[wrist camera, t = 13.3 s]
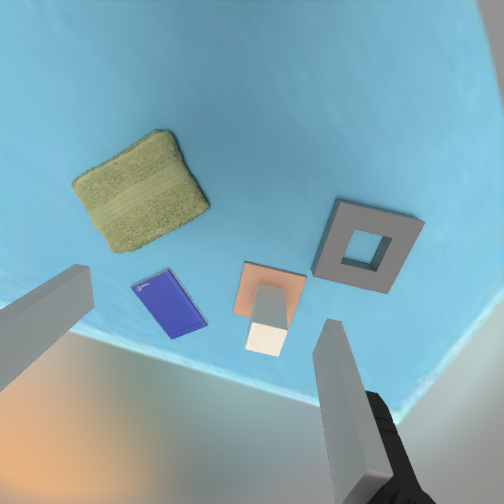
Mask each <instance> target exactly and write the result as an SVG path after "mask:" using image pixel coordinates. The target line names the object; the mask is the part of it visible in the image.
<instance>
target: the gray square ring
mask: <svg viewBox="0 0 504 504" xmlns="http://www.w3.org/2000/svg"><path fill="white" fill-rule="evenodd" d="M424 224H425V222H424V221H422V220H420V219H418V218H416V217H412V216H408V215H403V214H399V213H395V212H391V211H387V210H383V209H378V208H374V207H370V206H366V205H362V204H358V203H353V202H349V201H345V200H341V199H337V198H336V201H335V203H334V206H333V209H332V212H331V215H330V217H329V220H328V223H327V226H326V228H325V231H324V234H323V237H322V240H321V242H320V245H319V248H318V251H317V254H316V256H315V259H314V262H313V265H312V268H311V271H312V274H313V277H317V278H321V279H325V280H330V281H334V282H338V283H342V284H346V285H351V286H355V287H359V288H363V289H367V290H372V291H376V292H380V293H384V294H388V293H389V291H390V289H391V287H392V285H393V283H394V281H395V279H396V277H397V275H398V274H399V272H400V270H401V268H402V266H403V264H404V262H405V260H406V258H407V256H408V255H409V253H410V251H411V249H412V247H413V245H414V243H415V241H416V239H417V237H418V236H419V234H420V232H421V230H422V228H423V226H424ZM354 229H357V230H361V231H365V232H369V233H373V234H378V235H382V236H383V238H382V240H381V242H380V244H379V246H378V249H377V251H376V253H375V255H374V257H373V259H372V261H371V264H366V263H362V262H357V261H353V260H349V259H345V258H343V256H344V253H345V251H346V248H347V246H348V243H349V241H350V239H351V236H352V234H353V231H354Z"/></svg>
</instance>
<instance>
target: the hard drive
mask: <svg viewBox="0 0 504 504" xmlns="http://www.w3.org/2000/svg"><path fill="white" fill-rule="evenodd" d="M130 288H131V289H132V290H133V292H134V293H135V294H136V295H137V297H138V298H139V299H140V300H141V302H142V303H143V304H144V306H145V307H146V308H147V309H148V311H149V312H150V313H151V314H152V316H153V317H154V318H155V320H156V321H157V322H158V323H159V325H160V326H161V327H162V329H163V330H164V331H165V332H166V334H167V335H168V336H169V338H170V339H175V338H177V337H180V336H182V335H185V334H188V333H190V332H193V331H196V330H198V329H201V328H203V327H206V326H207V325H208V321H207V320H206V318H205V317H204V315H203V314H202V312H201V311H200V310H199V308H198V307H197V305H196V304H195V302H194V301H193V299H192V298H191V296H190V295H189V294H188V292H187V291H186V289H185V288H184V286H183V285H182V283H181V282H180V281H179V279H178V278H177V276H176V275H175V273H174V272H173V270H172V269H171V267H169V268H167V269H165V270H163V271H161V272H158V273H156V274H154V275H152V276H150V277H148V278H146V279H144V280H142V281H139V282H137V283H135V284H133V285H132V286H131V287H130Z"/></svg>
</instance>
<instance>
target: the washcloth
mask: <svg viewBox="0 0 504 504" xmlns="http://www.w3.org/2000/svg"><path fill="white" fill-rule="evenodd" d="M72 188H73V190H74V192H75V193H76V195H77V196H78V198H79V199H80V201H81V202H82V204H83V206H84V207H85V209H86V211H87V212H88V214H89V216H90V219H91V221H92V223H93V225H94V226H95V228H96V229H97V230H99V231H100V232H101V234H102V235H103V236H104V238H105V240H106V241H107V243H108V246H109V249H110V250H111V251H112V252H113V253H117V252H118V253H123V252H126V251H131V252H133V251H135V250H136V249H140V247H142V246H143V245H147V244H148V243H150V241H154V240H155V239H156V238H159V237H161V236H162V235H164V234H167V233H168V232H170V231H173V230H175V229H176V228H179V227H180V226H182V225H185V224H186V223H187V222H189V221H191V220H193V219H194V218H195V217H197V216H198V215H199V214H202V213H203V212H205V211H206V210H209V209H208V208H209V205H208V202H206V199H205V198H204V196H203V195H202V193H201V191H200V189H199V188H198V186H197V183H196V181H195V180H194V178H192V177H191V176H190V174H189V172H188V170H187V168H186V166H185V165H184V163H183V161H182V155H181V153H180V151H179V150H178V147H177V146H176V142H175V139H174V138H173V135H172V134H171V133H170V132H169V130H167V131H164V132H163V131H159V130H153V131H152V132H151V133H150V134H149V135H145V137H143V138H142V139H139V140H138V142H136V144H134V145H132V146H131V147H129V148H127V149H126V150H123V152H120V153H119V154H117V155H116V156H114V157H112V158H111V159H110V160H108V161H107V162H104V163H102V165H101V166H98V167H93V168H92V169H91V170H88V171H87V172H85V173H83V174H81V176H79V177H78V178H76V179H75V180H74V181H72Z"/></svg>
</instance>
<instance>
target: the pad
mask: <svg viewBox="0 0 504 504" xmlns="http://www.w3.org/2000/svg"><path fill="white" fill-rule="evenodd" d="M306 278H307V277H306V276H305V275H301V274H297V273H292V272H288V271H284V270H280V269H276V268H271V267H267V266H263V265H259V264H255V263H250V262H246V261H245V263H244V267H243V272H242V276H241V280H240V285H239V289H238V293H237V298H236V302H235V306H234V311H233V314H237V315H241V316H245V317H249V318H250V312H251V305H252V301H253V297H254V294H255V290H256V286H257V282H261V283H265V284H269V285H273V286H277V287H282V288H285V298H286V312H287V326H288V327H289V326H290V323H291V320H292V317H293V315H294V312H295V309H296V306H297V303H298V300H299V298H300V295H301V292H302V289H303V286H304V284H305V281H306Z"/></svg>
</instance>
